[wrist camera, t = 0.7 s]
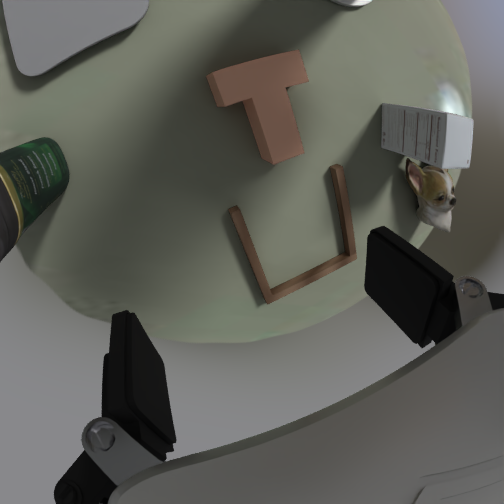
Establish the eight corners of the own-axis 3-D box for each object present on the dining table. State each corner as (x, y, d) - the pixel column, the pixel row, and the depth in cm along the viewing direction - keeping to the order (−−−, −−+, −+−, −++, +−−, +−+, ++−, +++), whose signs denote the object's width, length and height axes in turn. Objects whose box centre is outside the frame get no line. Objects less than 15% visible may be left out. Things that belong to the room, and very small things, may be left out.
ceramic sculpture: (438, 250, 42) (431, 167, 34) (405, 231, 49) (392, 156, 42) (470, 222, 42) (466, 146, 35) (438, 207, 50) (429, 137, 42)
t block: (284, 54, 29) (298, 49, 26) (309, 140, 36) (325, 145, 32) (205, 76, 28) (212, 72, 25) (239, 167, 35) (249, 174, 31)
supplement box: (412, 106, 37) (475, 119, 27) (410, 148, 41) (470, 170, 30) (380, 101, 36) (447, 111, 25) (379, 148, 39) (442, 170, 29)
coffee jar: (55, 125, 25) (-35, 153, 9) (79, 184, 29) (17, 263, 14) (-3, 165, 24) (-96, 224, 8) (21, 218, 28) (-49, 308, 12)
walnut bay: (336, 163, 38) (342, 166, 37) (351, 254, 47) (356, 258, 46) (228, 209, 37) (230, 213, 35) (264, 298, 45) (267, 304, 44)
